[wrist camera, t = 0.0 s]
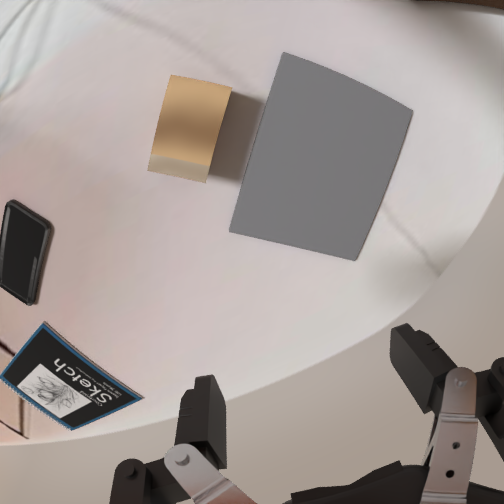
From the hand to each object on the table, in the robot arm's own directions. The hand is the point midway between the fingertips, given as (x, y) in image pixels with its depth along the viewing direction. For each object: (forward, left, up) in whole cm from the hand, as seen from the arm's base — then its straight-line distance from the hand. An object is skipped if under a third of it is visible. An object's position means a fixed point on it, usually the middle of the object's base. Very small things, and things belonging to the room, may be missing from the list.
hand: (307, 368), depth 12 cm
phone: (+14, -29, -23) cm, 40 cm away
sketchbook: (+43, -27, -23) cm, 56 cm away
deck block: (-6, -8, -22) cm, 25 cm away
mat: (-6, +6, -22) cm, 24 cm away
